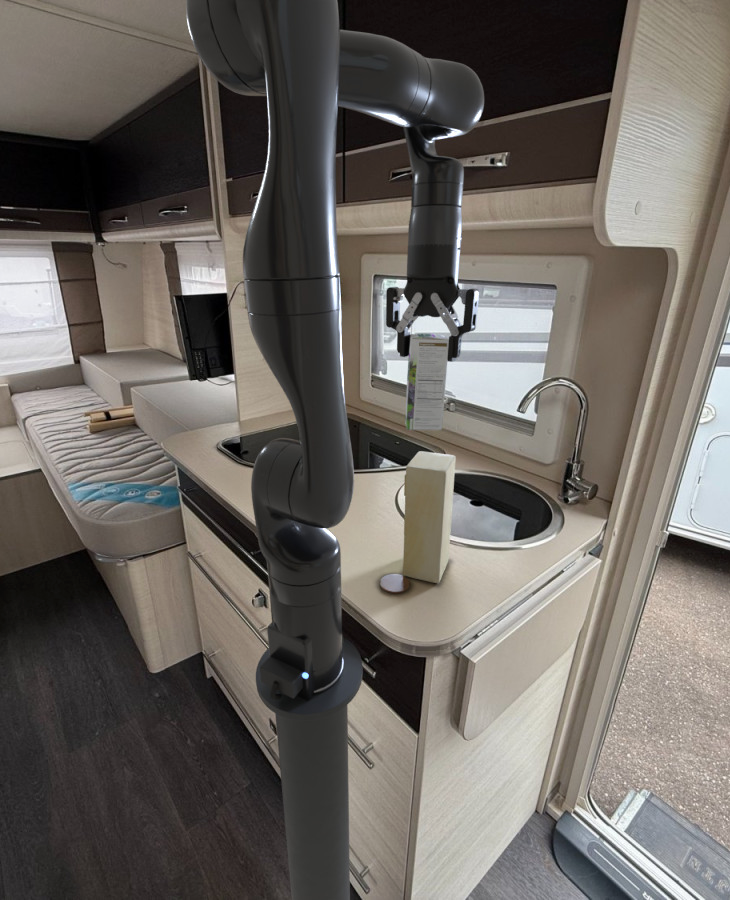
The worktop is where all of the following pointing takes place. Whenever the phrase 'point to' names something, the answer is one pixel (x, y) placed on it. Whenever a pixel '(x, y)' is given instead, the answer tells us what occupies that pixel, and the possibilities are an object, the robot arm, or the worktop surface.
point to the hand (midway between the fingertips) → (427, 358)
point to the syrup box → (426, 381)
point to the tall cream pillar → (428, 515)
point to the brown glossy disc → (394, 583)
